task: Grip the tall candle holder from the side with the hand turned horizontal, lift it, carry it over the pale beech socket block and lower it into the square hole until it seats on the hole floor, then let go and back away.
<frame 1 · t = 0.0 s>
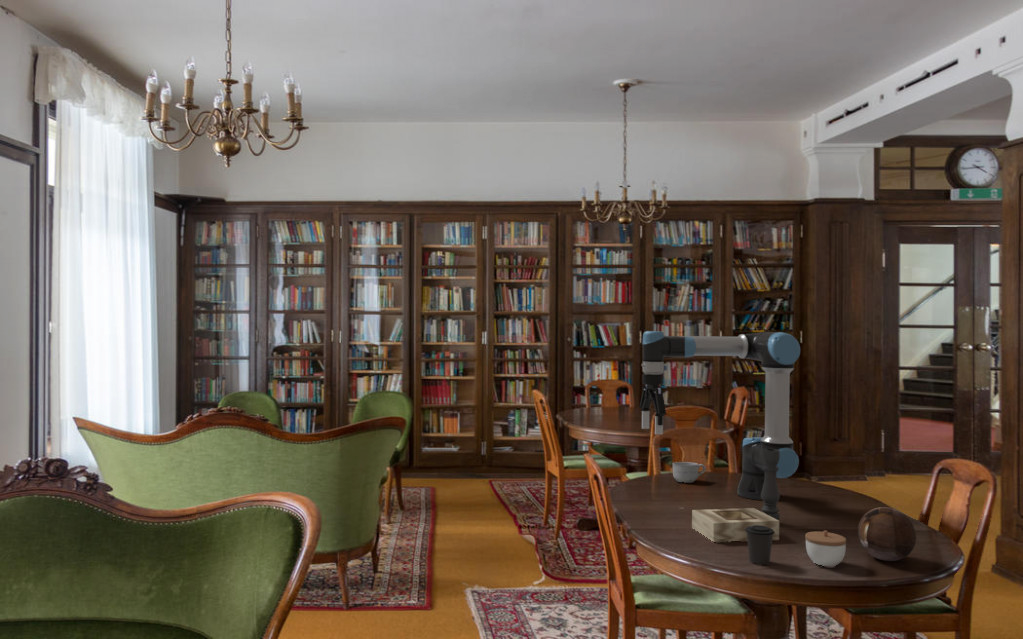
hand: (652, 431, 269), 28 cm above the table, tool pointing down, fingers open, 13 cm apart
teacup: (688, 482, 314), on the table
lidded jar: (825, 564, 208), on the table
clear glass sphere: (886, 560, 213), on the table
candle holder: (769, 524, 250), on the table
coffee cup: (759, 562, 209), on the table
socket block: (734, 533, 237), on the table
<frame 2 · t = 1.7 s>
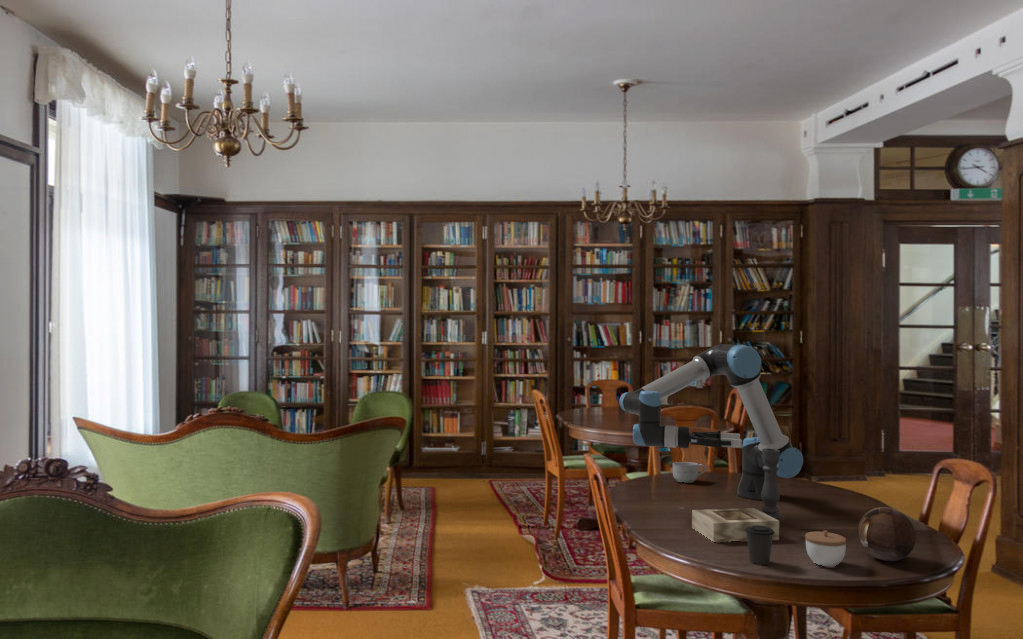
hand: (740, 440, 252), 28 cm above the table, tool horizontal, fingers open, 13 cm apart
nothing on the table moved.
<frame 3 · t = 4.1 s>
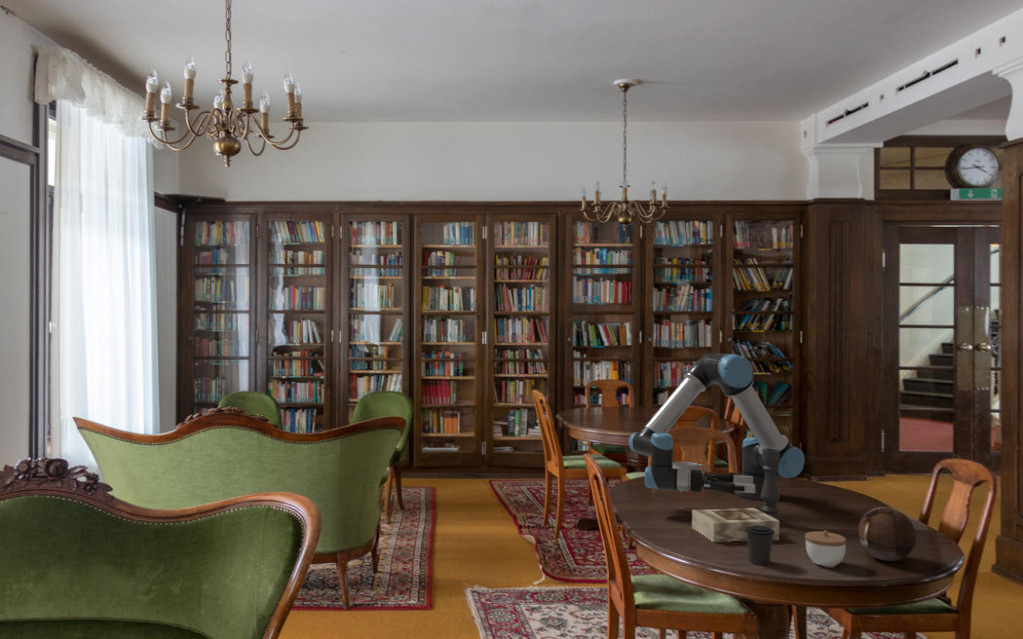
hand: (754, 484, 251), 13 cm above the table, tool horizontal, fingers open, 13 cm apart
nothing on the table moved.
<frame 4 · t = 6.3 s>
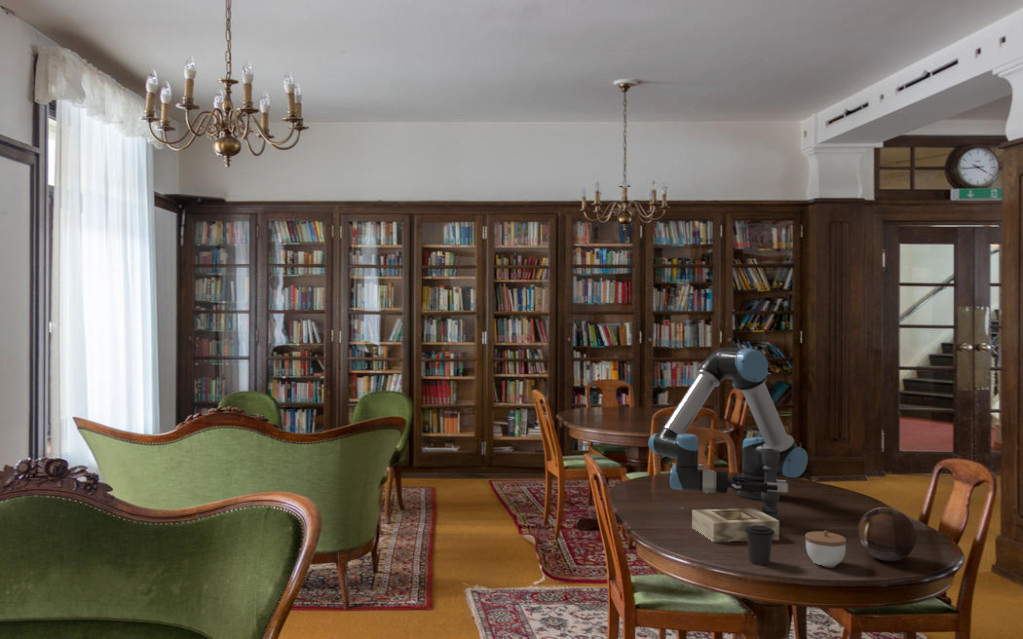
hand: (786, 486, 249), 13 cm above the table, tool horizontal, fingers closed on candle holder, 5 cm apart
candle holder: (769, 524, 250), on the table, touching gripper
everything else where it was.
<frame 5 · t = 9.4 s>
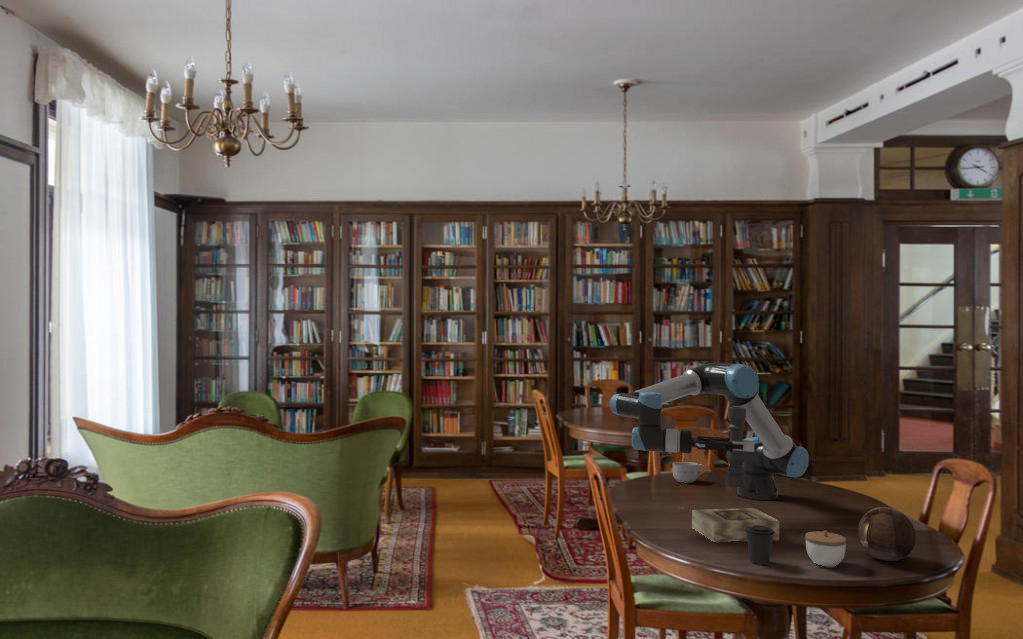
hand: (753, 445, 236), 29 cm above the table, tool horizontal, fingers closed on candle holder, 5 cm apart
candle holder: (735, 485, 237), point 15 cm above the table, touching gripper
everything else where it was.
when the fingers open (15 cm above the table, at t = 12.8 s): candle holder drops 1 cm, resting on socket block.
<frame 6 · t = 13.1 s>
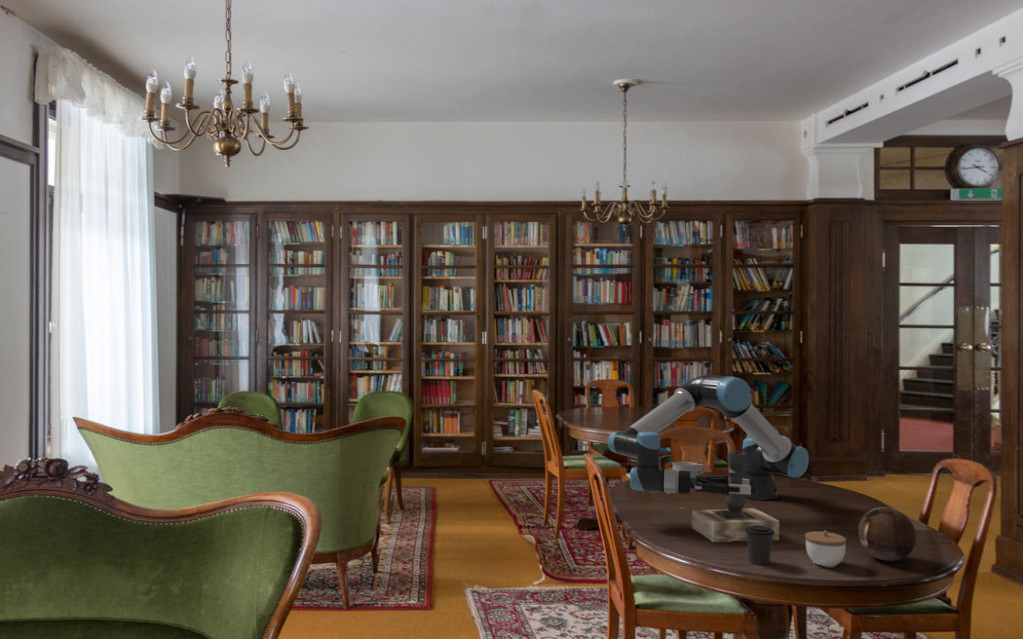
hand: (749, 486, 236), 15 cm above the table, tool horizontal, fingers open, 9 cm apart
candle holder: (734, 531, 237), point 1 cm above the table, touching socket block
everything else where it was.
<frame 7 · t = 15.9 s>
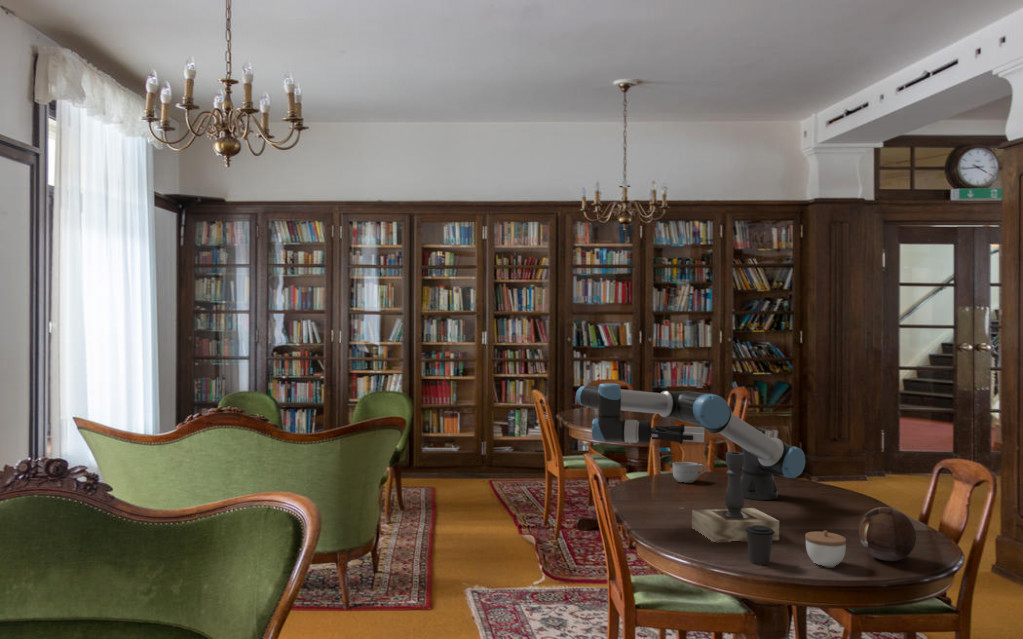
hand: (704, 434, 240), 31 cm above the table, tool horizontal, fingers open, 13 cm apart
nothing on the table moved.
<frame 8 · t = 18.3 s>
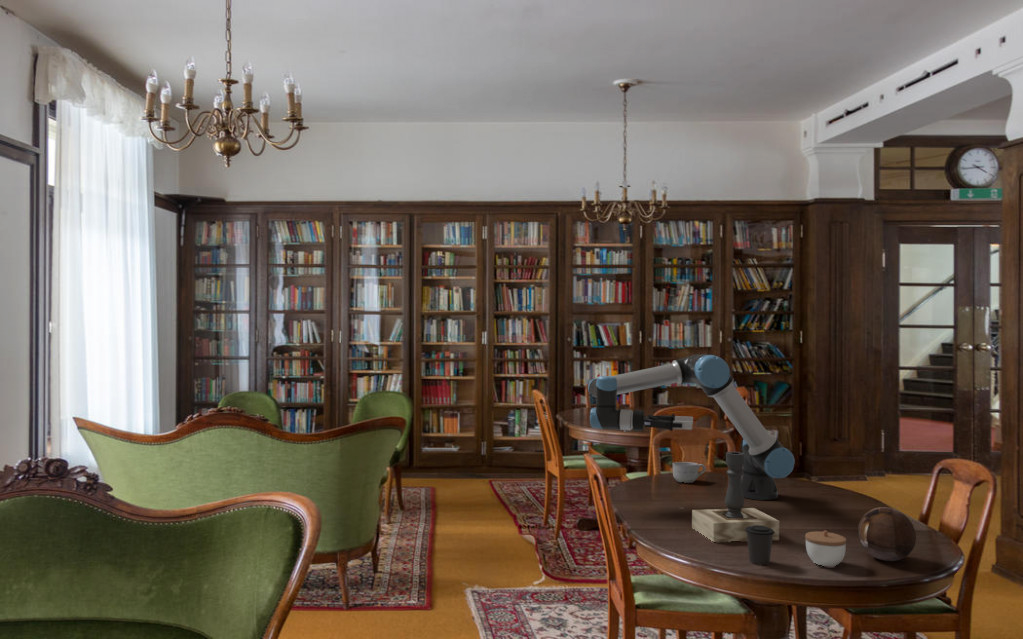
hand: (692, 423, 263), 32 cm above the table, tool horizontal, fingers open, 13 cm apart
nothing on the table moved.
at the end: candle holder 0.1 cm off-centre on the socket block, point 0.8 cm above the socket block's base; candle holder tilted 0°; the gripper is holding nothing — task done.
